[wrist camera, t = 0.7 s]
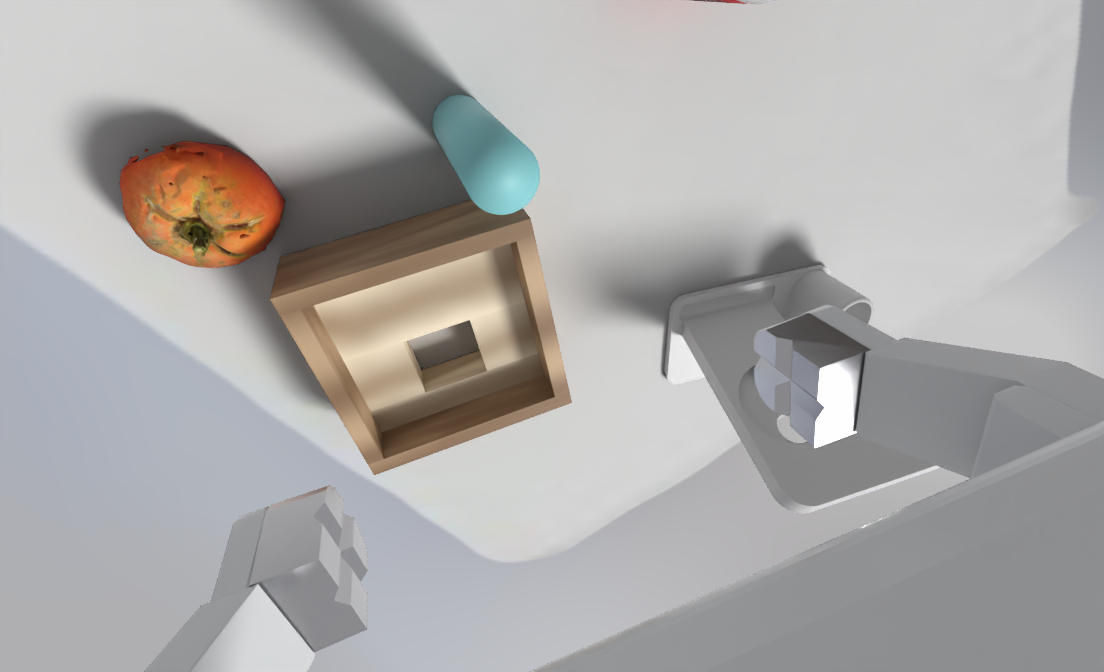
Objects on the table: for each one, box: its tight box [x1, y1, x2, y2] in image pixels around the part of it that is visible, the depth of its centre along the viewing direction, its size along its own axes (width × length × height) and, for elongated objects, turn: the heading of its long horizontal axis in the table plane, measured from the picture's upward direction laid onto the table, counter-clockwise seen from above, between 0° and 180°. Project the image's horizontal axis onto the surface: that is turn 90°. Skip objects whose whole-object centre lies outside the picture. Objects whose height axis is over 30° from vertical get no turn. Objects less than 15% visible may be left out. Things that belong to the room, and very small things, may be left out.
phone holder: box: [664, 265, 939, 513], centre depth 46 cm, size 17×10×18 cm, turn 93°
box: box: [270, 200, 572, 475], centre depth 39 cm, size 16×16×6 cm
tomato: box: [120, 141, 285, 268], centre depth 32 cm, size 8×7×7 cm
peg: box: [432, 95, 540, 215], centre depth 30 cm, size 4×4×12 cm
